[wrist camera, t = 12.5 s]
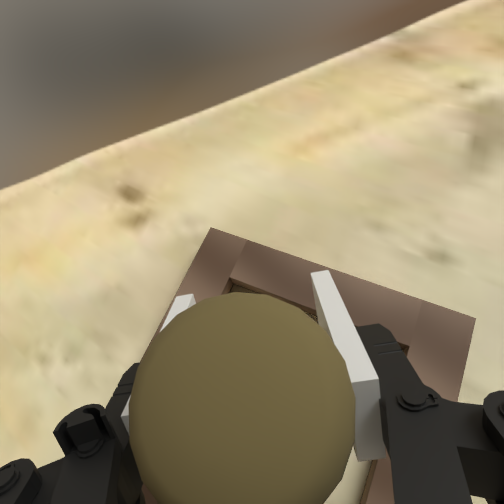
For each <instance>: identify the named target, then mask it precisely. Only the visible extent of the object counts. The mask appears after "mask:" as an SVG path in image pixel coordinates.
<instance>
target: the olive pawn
mask: <svg viewBox="0 0 504 504" xmlns="http://www.w3.org/2000/svg"><path fill="white" fill-rule="evenodd" d="M128 405H129V441H130V446H131V449H132V452H133V455H134V458H135V461H136V464H137V467H138V471H139V474H140V477H141V480H142V481H143V483H144V484H145V486H146V487H147V488H148V490H149V491H150V493H151V494H152V495H153V497H154V498H155V500H156V501H157V502H158V504H323V503H324V502H325V501H326V499H327V498H328V497H329V496H330V494H331V493H332V492H333V490H334V489H335V488H336V486H337V485H338V484H339V482H340V481H341V480H342V477H343V474H344V471H345V468H346V465H347V462H348V459H349V456H350V453H351V450H352V447H353V444H354V441H355V409H356V397H355V394H354V390H353V387H352V383H351V380H350V376H349V373H348V369H347V366H346V362H345V360H344V358H343V357H342V355H341V354H340V352H339V350H338V349H337V347H336V346H335V344H334V343H333V341H332V340H331V338H330V336H329V335H328V333H327V332H326V330H325V329H324V328H322V327H321V326H320V325H319V324H318V323H316V322H315V321H314V320H313V319H312V318H311V317H309V316H308V315H307V314H306V313H305V312H303V311H302V310H301V309H300V308H298V307H296V306H293V305H291V304H288V303H286V302H284V301H281V300H279V299H276V298H274V297H272V296H269V295H266V294H254V293H242V292H232V293H228V294H224V295H219V296H215V297H210V298H206V299H203V300H202V301H200V302H198V303H196V304H195V305H193V306H191V307H189V308H188V309H186V310H184V311H182V312H181V313H179V314H177V315H176V316H175V317H174V318H173V319H172V320H171V321H170V322H169V323H168V324H167V325H166V326H165V327H164V328H163V329H162V331H161V332H160V333H159V334H158V335H157V336H156V337H155V338H154V339H153V341H152V343H151V345H150V346H149V348H148V350H147V352H146V354H145V355H144V357H143V359H142V361H141V363H140V365H139V366H138V368H137V372H136V376H135V380H134V384H133V388H132V392H131V396H130V400H129V404H128Z"/></svg>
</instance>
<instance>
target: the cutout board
mask: <svg viewBox="0 0 504 504" xmlns="http://www.w3.org/2000/svg"><path fill="white" fill-rule="evenodd" d="M324 270H329V272H330V274H331V277H332V279H333V281H334V283H335V285H336V287H337V290H338V292H339V294H340V296H341V298H342V300H343V302H344V305H345V307H346V309H347V311H348V313H349V315H350V318H351V320H352V322H353V324H354V326H355V327H359V326H365V325H371V324H378V323H379V324H381V325H382V326H384V327H385V328H387V329H388V330H390V331H391V333H392V334H393V336H394V337H395V339H396V341H397V343H398V344H399V346H400V347H401V349H403V350H404V351H403V352H404V354H405V355H406V357H407V358H408V360H409V362H410V363H411V365H412V366H413V368H414V370H415V371H416V373H417V374H418V376H419V378H420V379H421V381H422V382H423V384H424V385H426V386H428V387H430V388H432V389H433V390H435V391H436V392H437V393H438V394H439V395H440V396H441V398H444V399H447V400H450V401H454V402H457V401H458V396H459V392H460V387H461V383H462V378H463V374H464V369H465V365H466V361H467V356H468V352H469V347H470V343H471V338H472V334H473V329H474V325H475V320H476V318H473V317H470V316H468V315H465V314H462V313H459V312H456V311H453V310H450V309H447V308H444V307H441V306H438V305H435V304H433V303H430V302H427V301H424V300H421V299H418V298H415V297H412V296H409V295H406V294H403V293H401V292H398V291H395V290H392V289H389V288H386V287H383V286H380V285H377V284H374V283H371V282H369V281H366V280H363V279H360V278H357V277H354V276H351V275H348V274H345V273H342V272H339V271H336V270H334V269H331V268H328V267H325V266H322V265H319V264H316V263H313V262H310V261H307V260H304V259H302V258H299V257H296V256H293V255H290V254H287V253H284V252H281V251H278V250H275V249H272V248H270V247H267V246H264V245H261V244H258V243H255V242H252V241H249V240H246V239H243V238H240V237H237V236H235V235H232V234H229V233H226V232H223V231H220V230H217V229H214V228H210V230H209V232H208V234H207V235H206V237H205V239H204V241H203V243H202V245H201V247H200V249H199V251H198V253H197V255H196V256H195V258H194V260H193V262H192V264H191V266H190V268H189V270H188V272H187V274H186V276H185V277H184V279H183V281H182V283H181V285H180V287H179V289H178V291H177V293H176V295H175V297H174V298H173V300H172V302H171V304H170V306H169V308H168V310H167V312H166V314H165V316H164V318H163V319H162V321H161V323H160V325H159V327H158V329H157V331H156V333H155V335H154V337H153V339H154V338H155V337H156V336H157V335H158V334H159V333H160V331H161V328H162V326H163V324H164V322H165V320H166V318H167V315H168V313H169V311H170V309H171V307H172V305H173V303H174V300H175V298H176V296H182V295H188V294H193V295H194V299H195V302H196V303H198V302H200V301H202V300H203V299H206V298H210V297H215V296H219V295H224V294H228V293H229V292H230V290H231V288H232V286H233V284H236V285H239V286H241V287H244V288H247V289H249V290H252V291H254V292H257V293H259V294H266V295H269V296H272V297H274V298H276V299H279V300H281V301H284V302H286V303H288V304H291V305H293V306H296V307H298V308H300V309H301V310H303V311H306V312H308V313H311V314H313V315H316V316H317V312H316V305H315V299H314V292H313V286H312V280H311V273H313V272H319V271H324ZM153 339H152V340H151V342H150V344H149V346H150V345H151V343H152V341H153ZM149 346H148V348H149ZM148 348H147V350H148ZM147 350H146V352H147ZM146 352H145V354H146ZM145 354H144V355H145ZM143 357H144V356H143ZM142 359H143V358H142ZM141 361H142V360H141ZM141 361H140V362H141ZM385 452H386V458H383V459H375V460H372V464H371V467H370V471H369V474H368V478H367V481H366V485H365V488H364V492H363V495H362V499H361V503H360V504H394V493H393V483H392V471H391V460H390V457H389V455H388V452H387V450H386V447H385ZM141 489H142V491H143V494H144V496H145V502H146V504H158V502H157V501H156V500H155V498H154V497H153V495H152V494H151V493H150V491H149V490H148V488H147V487H146V486H145V484H144V483H143V485H142V488H141Z"/></svg>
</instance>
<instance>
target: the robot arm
mask: <svg viewBox="0 0 504 504" xmlns="http://www.w3.org/2000/svg"><path fill="white" fill-rule="evenodd" d="M311 280H312V286H313V292H314V299H315V305H316V312H317V318H318V324H319V325H320V326H321V327H322V328H324V329H325V330H326V332H327V333H328V335H329V336H330V338H331V340H332V341H333V343H334V344H335V346H336V347H337V349H338V350H339V352H340V354H341V355H342V357H343V358H344V360H345V362H346V366H347V369H348V373H349V376H350V380H351V383H352V387H353V390H354V394H355V397H356V409H355V441H354V444H353V446H354V450H355V453H356V456H357V460H358V462H359V461H367V460H375V459H383V458H386V452H385V447H386V450H387V452H388V455H389V457H390V460H391V471H392V483H393V493H394V504H473V503H472V500H471V496H470V495H472V496H477V497H482V498H485V499H486V501H487V503H488V504H504V391H497V392H493V393H490V394H489V395H488V396H487V397H486V398H485V399H484V403H483V405H476V404H467V403H459V402H454V401H450V400H447V399H444V398H441V396H440V395H439V394H438V393H437V392H436V391H435V390H433V389H432V388H430V387H428V386H426V385H424V384H423V382H422V381H421V379H420V378H419V376H418V374H417V373H416V371H415V370H414V368H413V366H412V365H411V363H410V362H409V360H408V358H407V357H406V355H405V354H404V352H402V349H401V347H400V346H399V344H398V343H397V341H396V339H395V337H394V336H393V334H392V333H391V331H390V330H388V329H387V328H385V327H384V326H382V325H381V324H379V323H378V324H371V325H365V326H359V327H355V326H354V324H353V322H352V320H351V318H350V315H349V313H348V311H347V309H346V307H345V305H344V302H343V300H342V298H341V296H340V294H339V292H338V290H337V287H336V285H335V283H334V281H333V279H332V277H331V274H330V272H329V270H324V271H319V272H313V273H311ZM195 304H196V302H195V299H194V295H193V294H188V295H182V296H176V298H175V300H174V303H173V305H172V307H171V309H170V311H169V313H168V315H167V318H166V320H165V322H164V324H163V326H162V328H161V331H162V329H163V328H164V327H165V326H166V325H167V324H168V323H169V322H170V321H171V320H172V319H173V318H174V317H175V316H176V315H177V314H179V313H181V312H182V311H184V310H186V309H188V308H189V307H191V306H193V305H195ZM161 331H160V332H161ZM140 363H141V362H140ZM140 363H134V364H133V365H132V366H131V367H130V368H129V369H128V370H127V371H126V372H125V373H124V374H123V376H122V378H121V380H120V382H119V384H118V387H117V388H116V389H115V391H114V393H113V397H111V399H110V401H109V403H108V404H107V406H106V408H104V407H103V406H101V405H99V404H90V405H85V406H83V407H80V408H78V409H76V410H74V411H73V412H71V413H70V414H68V415H67V416H65V417H64V418H63V419H62V420H61V421H60V422H59V423H58V425H57V426H56V428H55V430H54V431H53V434H54V436H55V437H56V439H57V441H58V443H59V445H60V447H61V448H62V450H63V452H64V454H65V457H64V458H62V459H60V460H57V461H55V462H52V463H50V464H47V465H45V466H42V467H40V468H38V469H37V468H36V466H35V465H34V463H33V462H32V461H31V460H30V459H22V458H21V459H18V460H15V461H12V462H10V463H8V464H6V465H4V466H2V467H1V468H0V504H146V502H145V496H144V494H143V491H142V489H141V488H142V485H143V481H142V480H141V477H140V474H139V471H138V467H137V464H136V461H135V458H134V455H133V452H132V449H131V446H130V441H129V405H128V404H129V400H130V396H131V392H132V388H133V384H134V380H135V376H136V372H137V368H138V366H139V365H140Z"/></svg>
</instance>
